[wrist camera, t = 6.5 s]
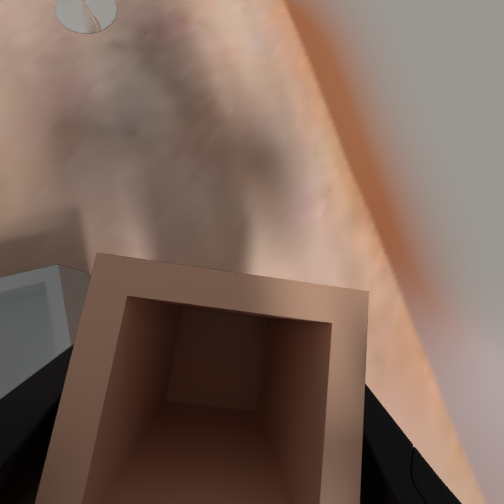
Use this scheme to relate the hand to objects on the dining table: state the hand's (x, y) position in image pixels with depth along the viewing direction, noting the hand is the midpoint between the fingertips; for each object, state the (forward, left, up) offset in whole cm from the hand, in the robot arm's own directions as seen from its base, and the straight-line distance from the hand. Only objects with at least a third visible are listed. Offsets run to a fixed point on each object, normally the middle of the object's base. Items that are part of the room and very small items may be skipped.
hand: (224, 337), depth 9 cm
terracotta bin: (-1, +1, -7) cm, 7 cm away
